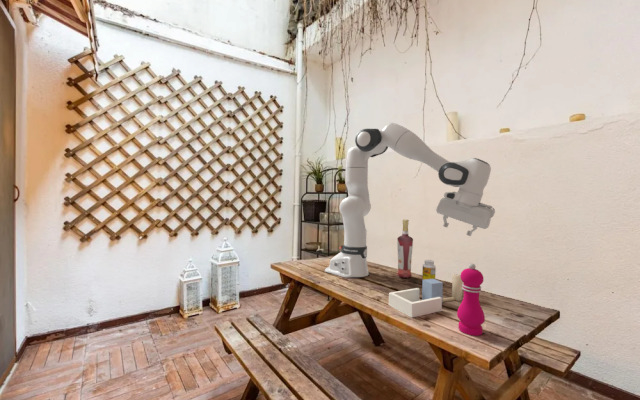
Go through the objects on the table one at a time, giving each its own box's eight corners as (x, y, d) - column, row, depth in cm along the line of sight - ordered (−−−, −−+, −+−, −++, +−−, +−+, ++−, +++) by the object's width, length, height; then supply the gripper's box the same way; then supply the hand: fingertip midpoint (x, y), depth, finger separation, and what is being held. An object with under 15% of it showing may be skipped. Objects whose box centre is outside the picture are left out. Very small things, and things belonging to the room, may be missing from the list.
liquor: (413, 279, 135) (415, 220, 134) (397, 278, 135) (399, 220, 135) (410, 275, 142) (411, 219, 141) (395, 274, 143) (396, 219, 142)
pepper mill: (455, 323, 89) (457, 259, 88) (482, 327, 86) (484, 262, 86) (457, 333, 82) (459, 264, 82) (486, 338, 79) (488, 267, 79)
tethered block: (431, 305, 103) (431, 281, 103) (421, 300, 107) (422, 277, 107) (465, 300, 108) (466, 277, 108) (455, 296, 113) (456, 273, 113)
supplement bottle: (419, 281, 132) (420, 259, 132) (429, 280, 134) (430, 259, 134) (427, 285, 127) (428, 262, 127) (437, 284, 128) (438, 261, 128)
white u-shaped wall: (411, 317, 92) (411, 303, 92) (388, 305, 102) (388, 292, 102) (441, 310, 98) (441, 297, 98) (416, 299, 108) (417, 287, 108)
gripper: (497, 207, 111) (485, 240, 113) (445, 192, 123) (435, 221, 126) (495, 207, 106) (482, 241, 109) (440, 191, 118) (430, 222, 121)
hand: (456, 230), depth 117 cm, fingers open, 8 cm apart
